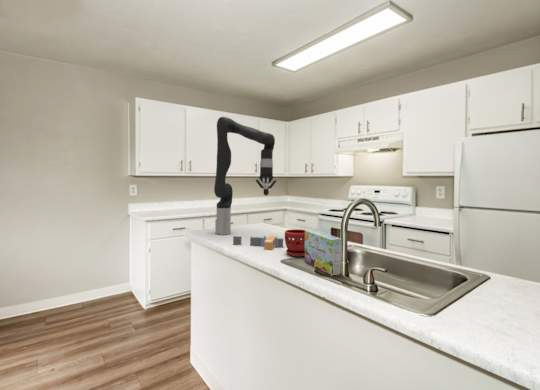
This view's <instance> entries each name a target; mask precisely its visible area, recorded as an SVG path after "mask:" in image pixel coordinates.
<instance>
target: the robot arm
mask: <svg viewBox="0 0 540 390" xmlns="http://www.w3.org/2000/svg"><path fill="white" fill-rule="evenodd" d="M230 133H231V134H236V135H239V136H242V137H243V138H246V139H248V140H251V141H253V142H257V143H259V144H261V145H264V146H263V149H261V151H260V161H259V162H260V165H259V166H260V167H259V171H260V172H259V177H258V178H257V179H255V182H256V184H258V186H259V187H260V189H263V195H264V196H268V195H269V193H270V191H269V190H270V189H272V188H273V186H275V184H276V183H277V179H275V178H274V176H273V172H274V171H273V170H274V169H273V168H274V167H273V166H274V164H273V163H274V161H273V152H274V147H275V143H276V139H275V136H274V134H272V133H269V132H265V131H262V130H259V129H256V128H254V127H250V126H246V125H243V124H241V123H238V122H237V121H235V120H234V119H232V118H231V117H230V118H229V117H226V116H220V117H219V118H218V119H217V121H216V135H217V138H216V139H217V142H216V143H217V146H216V147H217V150H216V152H217V153H216V172H215V181H214V191H213V192H214V195H215V197H217V198H219V201H218V202H217V203H216V218H215V220H214V221H215V223H214V224H215V225H214V226H215V228H214V229H215V231H214V232H215V235H221V236H222V235H223V236H225V235H226V236H227V235H230V234H231V231H232V230H231V228H232V227H231V225H232V224H231V223H232V222H231V221H232V220H231V219H232V218H231V216H232V215H231V214H232V213H231V211H232V210H231V209H232V203H233V191H234V190H233V187H232V185H231V184H230V183H226V176H227V174H228V171H229V170H230V167H231V165H232V151H231V148H230V145H229V140H228V134H230Z"/></svg>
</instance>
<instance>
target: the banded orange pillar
mask: <svg viewBox="0 0 540 390" xmlns="http://www.w3.org/2000/svg"><path fill="white" fill-rule="evenodd" d="M275 237H277V236H274V235H273V236H272V235H269V236H268V237H266V240H265V242H264V247H263V250H266V251H272V250H273V249H274V247H275Z"/></svg>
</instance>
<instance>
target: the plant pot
mask: <svg viewBox="0 0 540 390" xmlns="http://www.w3.org/2000/svg"><path fill="white" fill-rule="evenodd" d="M305 230H306V229H299V228H298V229H294V228H293V229H287V230H285V231H284V242H285V243H284V244H285V247H286V248H287V249H286V250H285V253H286V254H287V255H290V256H291V257H292V256H293V257H302V256H303V257H305Z"/></svg>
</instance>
